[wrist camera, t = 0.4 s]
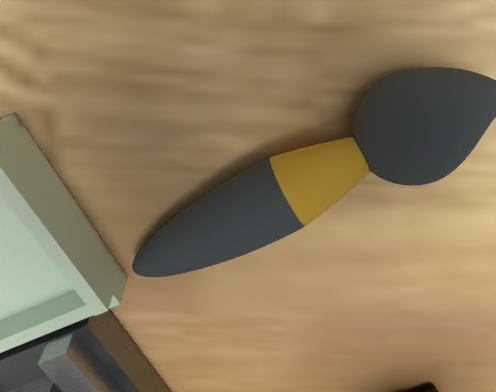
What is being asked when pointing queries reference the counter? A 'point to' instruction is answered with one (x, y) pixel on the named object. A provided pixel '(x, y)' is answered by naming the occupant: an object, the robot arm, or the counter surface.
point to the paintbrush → (331, 169)
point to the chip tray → (46, 247)
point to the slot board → (82, 360)
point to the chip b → (38, 386)
